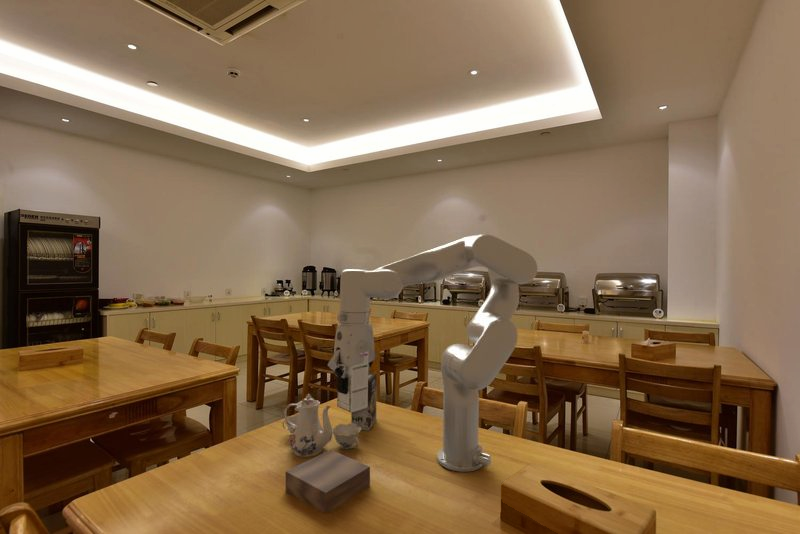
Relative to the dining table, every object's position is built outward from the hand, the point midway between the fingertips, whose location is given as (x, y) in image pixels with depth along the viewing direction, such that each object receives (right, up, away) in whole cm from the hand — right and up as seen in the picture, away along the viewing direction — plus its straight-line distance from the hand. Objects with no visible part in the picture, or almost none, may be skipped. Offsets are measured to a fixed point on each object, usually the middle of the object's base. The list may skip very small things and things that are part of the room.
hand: (352, 389), depth 100 cm
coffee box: (0, -22, +32) cm, 39 cm away
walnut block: (-5, -22, -5) cm, 24 cm away
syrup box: (0, -5, 0) cm, 5 cm away
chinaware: (-13, -22, +17) cm, 31 cm away
